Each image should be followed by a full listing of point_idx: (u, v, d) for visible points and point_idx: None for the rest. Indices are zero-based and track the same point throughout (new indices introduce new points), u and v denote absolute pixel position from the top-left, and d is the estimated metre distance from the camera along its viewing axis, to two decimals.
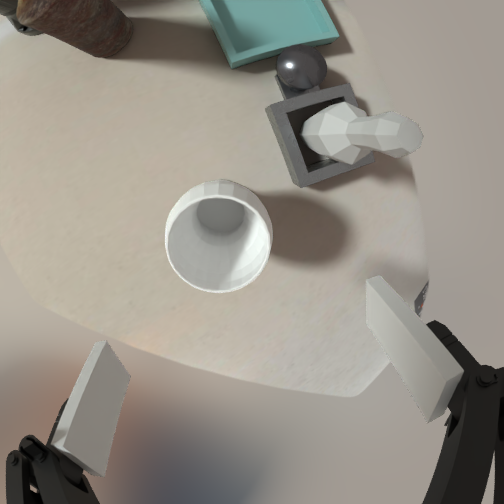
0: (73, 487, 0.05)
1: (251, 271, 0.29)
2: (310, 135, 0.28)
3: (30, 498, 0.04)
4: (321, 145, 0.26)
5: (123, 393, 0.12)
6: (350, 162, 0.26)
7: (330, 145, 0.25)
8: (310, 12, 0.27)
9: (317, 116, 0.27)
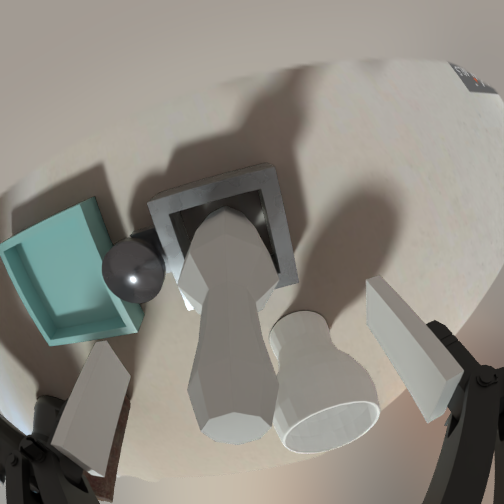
0: (73, 487, 0.05)
1: None
2: None
3: (30, 498, 0.04)
4: None
5: (123, 393, 0.12)
6: (275, 284, 0.18)
7: None
8: (57, 225, 0.25)
9: None
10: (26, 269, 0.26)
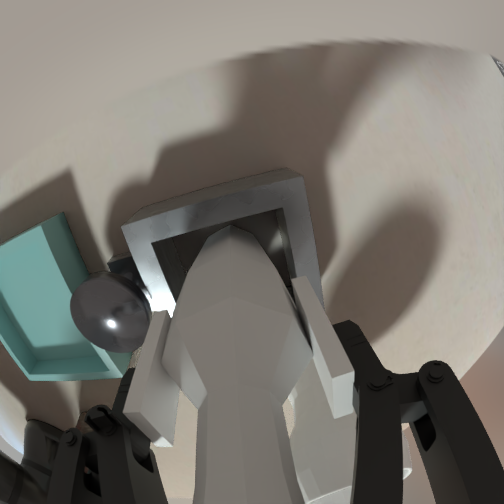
0: (140, 467, 0.06)
1: None
2: None
3: (80, 485, 0.05)
4: None
5: None
6: None
7: None
8: (23, 246, 0.18)
9: None
10: None
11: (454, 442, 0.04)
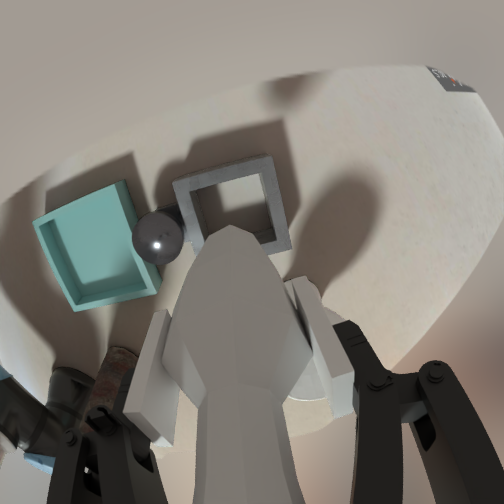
0: (140, 467, 0.06)
1: None
2: None
3: (81, 485, 0.05)
4: None
5: None
6: None
7: None
8: (90, 202, 0.32)
9: None
10: (57, 243, 0.33)
11: (454, 442, 0.04)
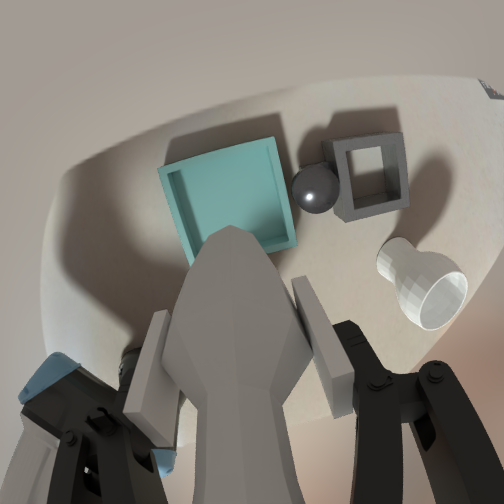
0: (140, 467, 0.07)
1: (458, 274, 0.32)
2: None
3: (81, 485, 0.05)
4: None
5: None
6: None
7: None
8: (232, 155, 0.35)
9: None
10: (179, 196, 0.37)
11: (454, 442, 0.04)
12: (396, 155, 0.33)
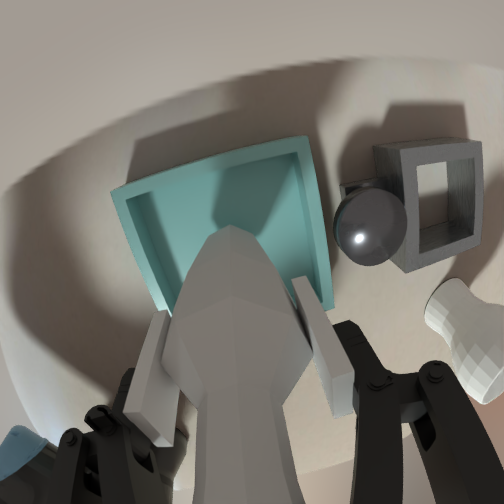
0: (140, 467, 0.06)
1: None
2: None
3: (81, 485, 0.05)
4: None
5: None
6: None
7: None
8: (235, 165, 0.21)
9: None
10: (151, 233, 0.23)
11: (454, 442, 0.04)
12: (473, 174, 0.19)
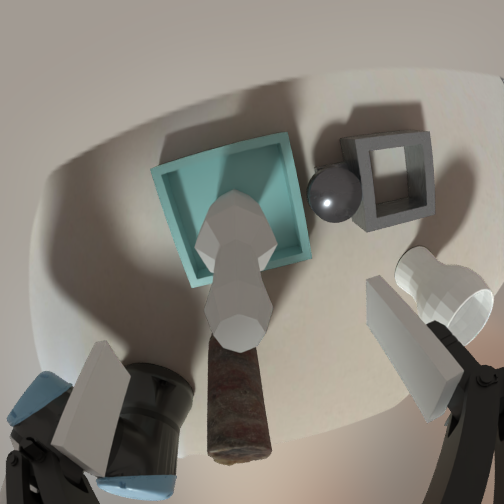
0: (73, 487, 0.05)
1: (483, 290, 0.27)
2: None
3: (30, 498, 0.04)
4: None
5: (123, 393, 0.12)
6: (274, 248, 0.22)
7: None
8: (238, 153, 0.30)
9: None
10: (176, 200, 0.32)
11: None
12: (423, 157, 0.28)
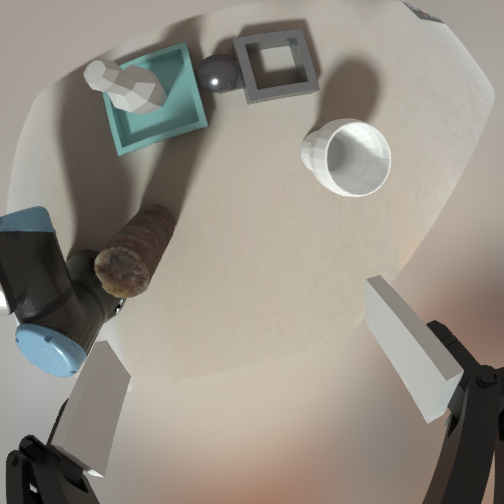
0: (73, 487, 0.05)
1: (379, 141, 0.33)
2: (138, 113, 0.32)
3: (30, 498, 0.04)
4: (141, 107, 0.30)
5: (123, 393, 0.12)
6: (153, 85, 0.28)
7: (137, 103, 0.28)
8: (157, 62, 0.35)
9: None
10: None
11: None
12: (298, 46, 0.34)
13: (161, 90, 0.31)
